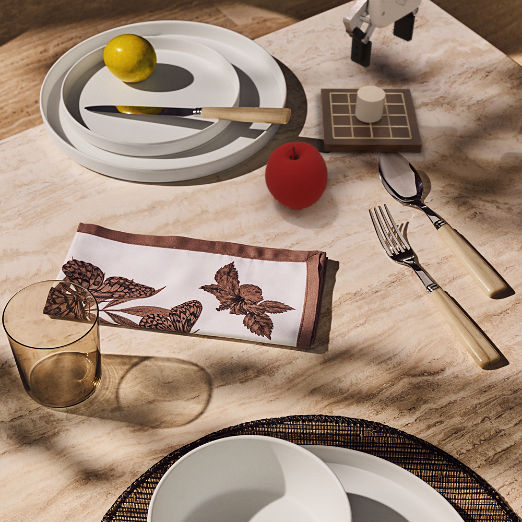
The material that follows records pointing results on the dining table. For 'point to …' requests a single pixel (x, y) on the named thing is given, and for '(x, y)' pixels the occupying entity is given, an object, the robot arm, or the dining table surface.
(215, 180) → the dining table surface
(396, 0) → the robot arm
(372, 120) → the white cylinder
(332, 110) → the board
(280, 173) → the apple
